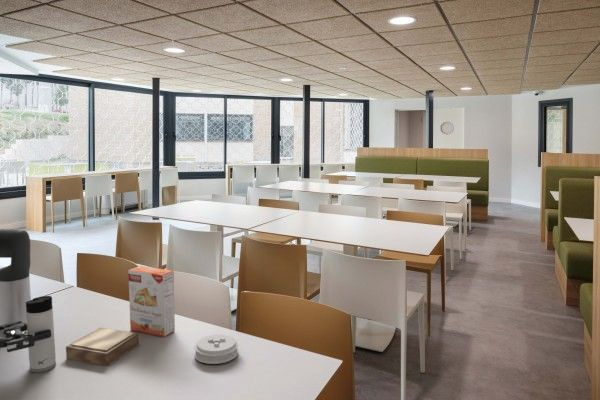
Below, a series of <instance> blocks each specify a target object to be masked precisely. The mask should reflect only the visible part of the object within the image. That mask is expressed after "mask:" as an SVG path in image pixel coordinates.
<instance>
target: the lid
mask: <svg viewBox="0 0 600 400" xmlns="http://www.w3.org/2000/svg"><path fill="white" fill-rule="evenodd" d="M238 347H239V342H238V340H237V339H236V338H234V337H233V336H231V335H227V334H211V335H207V336H204V337H202V338H200V339H199V340H198V341H197V342H195V344H194V351H195V352H194V358H195V359H196V360H197V361H198V362H199V363H200V362H201V363H205V364H209V365H211V364H213V365H215V364H217V365H218V364H224V363H228V362H230V361H232V360H234V359H235V358H237V356H238V355H239V349H238Z"/></svg>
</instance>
